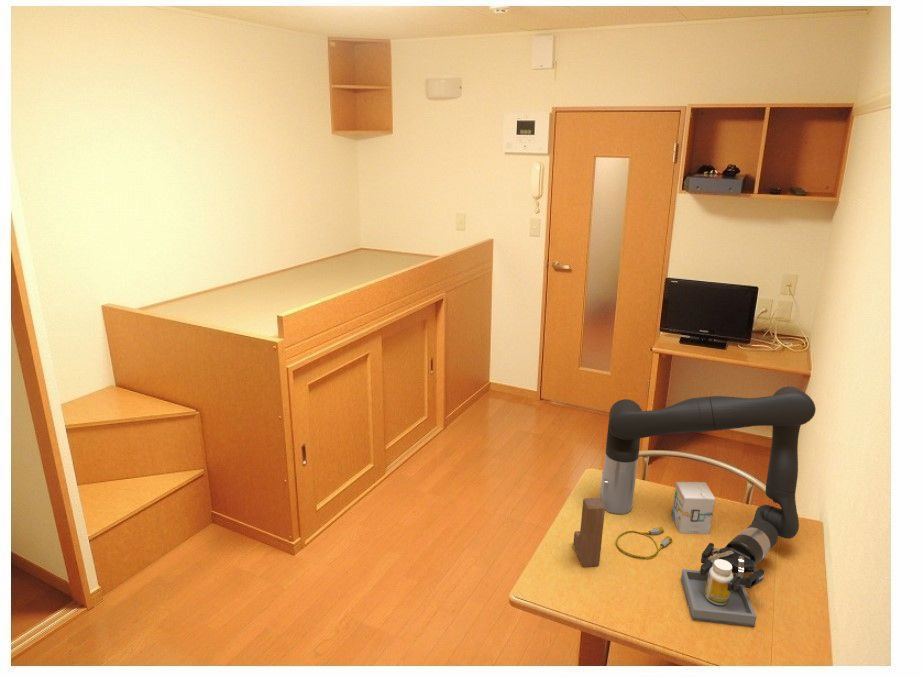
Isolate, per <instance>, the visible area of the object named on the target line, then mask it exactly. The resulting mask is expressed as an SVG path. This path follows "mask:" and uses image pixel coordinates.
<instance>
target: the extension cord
mask: <svg viewBox="0 0 923 677" xmlns="http://www.w3.org/2000/svg"><path fill="white" fill-rule="evenodd" d="M664 532H665V529H664V527H663V526H659V527H654V528H652V529H650V530H648V532H646V531H645V532H641V531H636V530H626V531H624V532H621V533H620V534H619V535H618V536H617V538H616V539H615V545H616V547H617V550H619V552H620V553H621V554H623V555H625V556H628V557H631V558H634V559H639V560H652V559H655V558H656V557H657V556H658V554H659V551H660V550H661V549H664V548H666V547H667V546H669V545H670V543H672V542H673V538H672V537H671V536H669V535H667V536H665V537H664V538H663V539H662V541H661V543H660V546H658V544H657V542H656V540H655V539H654V538H653V537H652V536H654V535H655V536H656V535H657V536H658V535H660V534H662V533H664ZM630 533H631V534H640V535H643V536H645V537H648V538H650V539H651V540H652V541H653V543H654V545H655V547H656V551H655V553H653V554H652V555H649V556H644V555H643V556H641V555H637V554H633V553H630V552H628V551H626V550H623V549H622V548H621V547H620V545H619V543H618V541H619V539H620V538H621V537H622V536H625V535H627V534H630ZM648 534H649V535H648Z"/></svg>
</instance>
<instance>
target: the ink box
mask: <svg viewBox="0 0 923 677" xmlns="http://www.w3.org/2000/svg"><path fill="white" fill-rule="evenodd" d="M675 482H676V483H675V489H674V493H673V494H674V496H673V501H672V509H671V517H672V519H673V521H674V524H675V526H676V528H677V530H678V533H679V534H696V533H697V534H698V535H699V534H700V535H703V534H704V535H709V534H710V532H711V527H712V526H711V525H712V521H713V514H714V511H715V504H716V497H715V496H714V494H713V493H712V491H711V489H710V487H709V486H708V484H707V483H706V482H705V481H680V480H679V481H675Z"/></svg>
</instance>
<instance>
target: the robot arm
mask: <svg viewBox="0 0 923 677" xmlns="http://www.w3.org/2000/svg"><path fill="white" fill-rule="evenodd" d="M816 410H817V409H816V404H815V402H814V400H813V399H812V398H811V396H809V395H808V394H807V393H806V392H805V391H803V390H801V389H800V388H798V387H795V386H789V385H788V386H784V387H781V388H779V389H777V390H776V391H775V392H774V394H773V395H768V396H760V397H738V396H728V395H727V396H725V395H723V396H721V395H711V396H700V397H699V396H698V397H692V398H688V399H684V400H681V401H678V402H676V403H674V404H671V405H669V406H667V407H664V408H660V409H655V410H642V408H641V406H640V405H639V404H638V403H637V402H636V401H634V400H632V399H628V398H624V399H618V400H617V401H615V402H614V403H613V404H612V406H611V407H610V410H609V414H608V424H607V426H608V427H607V434H606V444H605V454H604V463H603V471H602V472H601V482H600V492H599V494H600V495H599V498H600V499H601V501H602V503H603V504H604V506H605V512H606V511H607V512H609V513H611V514H616V515H625V514H629V513H630V512H631V511H632V509H633V504H634V496H635V487H636V478H637V472H638V465H639V464H638V462H639V455H640V447H641V446H640V443H641V439H643V438H651V437H656V436H660V435H674V434H685V433H687V434H688V433H704V432H705V433H706V432H715V431H716V432H717V431H725V430H734V429H744V428H749V427H758V426H759V427H764V426H766V427H767V426H769V427H772V432H771V436H772V437H771V446H770V447H771V448H770V456H769V462H768V467H767V468H768V469H767V473H766V474H767V476H766V484H765V495H766V497H767V498H769V499H770V500H772V501H774V502H775V503H777V504H778V505H779V506H780V507H775V506H773V505H770V504H762V505H759V506H758V507H757V508H756V510H755V512H754V516H753V519H752V521H751V523H750V525H748V527H746V528H745V529H744V530H742V531H740V532H739V533H738V534H737V535H736V536H735V537H734V538H732V539H731V540H730V541H729V542H728V543H727V544H726V545H725V547H721V548H718V547H715V544H714V543H713V542H709V543H708V544H707V545H706V547H705V548H704V550H703V552H702V553H701V559H700V563H701V565H700V569H699V571H700V572H701V575H702V576H705V575H706V574H707V573H708V572H709V570H710V568H711V567H713V565H714V561H715V560H717V559H722V560H726V561H728V562H729V563H730V564H731V565H732V572H731V573H732V574H736V576H735V577H734V578H733V579H732V580H731V581H730V582H729V584H728V588H727V590H729V591H730V592H731V591H732V590H733V591H735V590H736V589H737V588H738V587H739V586H741V585H744V587H745V589H746V588H747V589H752V588H753V587H754V586H756V585H758V584H759V583H761V582H762V581H763V580H764V576H765V570H764V568H759V569H758V568H756V566H757V565H758V564H759V563H760V562H761V561H762V560H764V559H765V558H766V556H767V554H768V552H769V551H770V550H771V549H772V548H773V547H774V546H775V545H776V544H777V543H778V541H779V538H783V539H786V540H790V539H793V538H794V537H795V536H797V534H798V532H799V529H800V522H799V521H800V520H799V514H798V511H797V503H796V502H797V501H796V490H797V484H798V477H799V458H798V457H799V455H798V454H799V453H798V452H799V451H798V450H799V447H798V446H799V435H800V430H801V426H802V425H805V424H807V423H809V422H810V421H811V420H812V419H813V418H814V417H815V415H816ZM745 574H749V575H748V576H745Z"/></svg>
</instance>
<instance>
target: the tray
mask: <svg viewBox="0 0 923 677" xmlns="http://www.w3.org/2000/svg"><path fill="white" fill-rule="evenodd" d="M681 570H682V571H681V577H680V581H681V584H682V588H683V591H684V595H685V599H686V602H687V607H688V606H689V607H688V609H689V614H690V617H691V620H692V621H697V622H707V623H714V624H715V623H716V624H723V625H731V626H732V625H733V626H742V627H750V628H755V627H756V622H757V619H758V618H757V617H758V616H757V615H756V612H755V608H754V607H753V605H752V601H751V599H750V596H749V594H748V592H747V590H746V586H745V585H741V586H739V587H738V588H737V589H736V590H735V591H733V590H732V591H731V592H730V597H729V601H728V603H727V604H725V605H716V604H714V603H712V602H710V601H709V600H708V599H707V598H706V597H705V589H706V584H707V579H708V573H709V572H708V573H707V574H706V575H705V576H702V575H701V572H700V570H696V569H685V568H682V569H681ZM732 574H733V578H734V577H735V576H736V573H732Z"/></svg>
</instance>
